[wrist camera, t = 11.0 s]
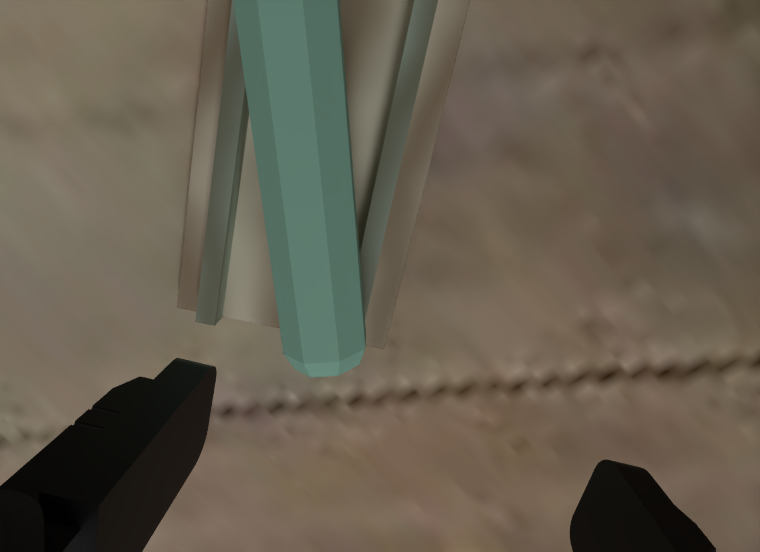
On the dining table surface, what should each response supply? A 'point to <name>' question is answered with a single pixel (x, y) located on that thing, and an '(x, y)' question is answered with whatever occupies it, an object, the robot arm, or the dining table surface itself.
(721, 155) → the dining table surface
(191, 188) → the rail
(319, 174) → the teal green cylinder
